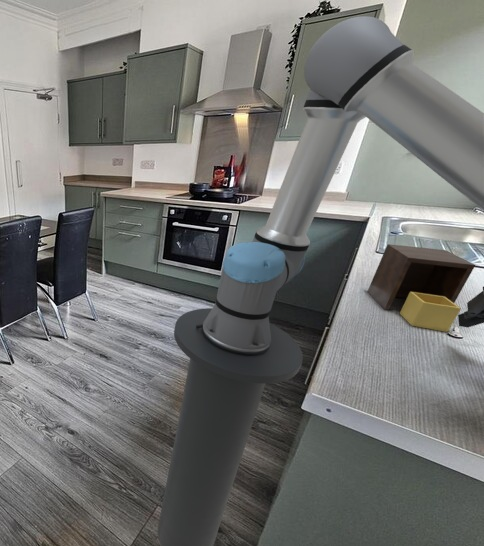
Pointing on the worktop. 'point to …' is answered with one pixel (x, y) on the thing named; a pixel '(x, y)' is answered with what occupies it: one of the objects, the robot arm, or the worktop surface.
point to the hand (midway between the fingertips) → (462, 321)
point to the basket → (429, 311)
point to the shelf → (418, 274)
